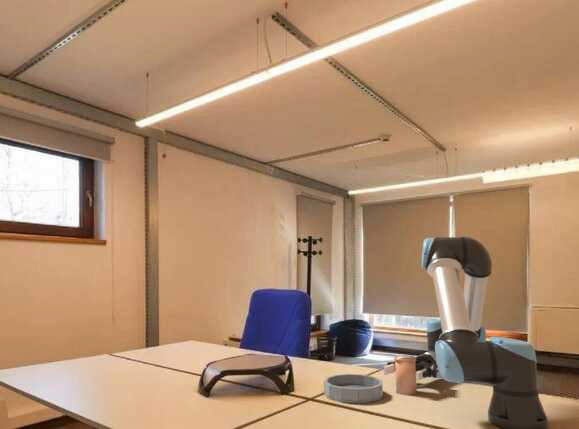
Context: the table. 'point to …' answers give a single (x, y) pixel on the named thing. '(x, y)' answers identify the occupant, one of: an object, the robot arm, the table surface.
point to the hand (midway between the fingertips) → (400, 373)
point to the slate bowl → (353, 388)
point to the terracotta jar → (405, 374)
